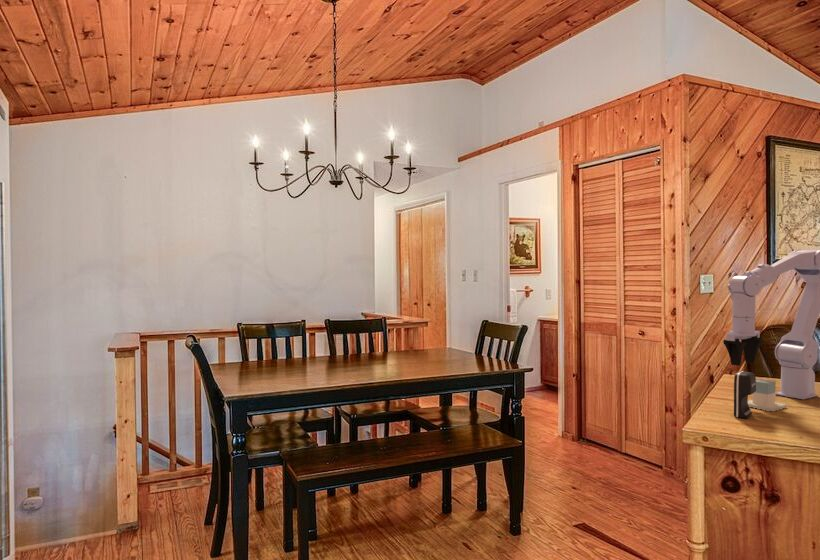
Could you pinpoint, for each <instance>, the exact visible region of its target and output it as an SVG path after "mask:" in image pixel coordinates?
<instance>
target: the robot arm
mask: <svg viewBox="0 0 820 560" xmlns="http://www.w3.org/2000/svg"><path fill="white" fill-rule="evenodd" d="M791 270H794V271H795V272H796V274H797V275H798V276H799V277H800V278H801V279H803V280H804V282H805V287H804V290H803V293H802V296H801V299H800V302H799V306H798V308H797V311H796V315H795V317H794V321H793V323H792V326H791V330H790V331H789V332H788V333H786V334H784V335H783V336H781V338H780V341H779V343H778V344H777V345H776V346H775V348H774V356H775V359H776V360H777V361H778V364H779V365H780V391H775V396H781V397H787V398H793V399H799V400H807V399H811V398H814V397H815V398H816V397H818V396H819V394H818V393H816V392H815V391H816V374H815V371H814V369H813V366H815V365H816V363H817V361H818V357H819V355H818V353H819V352H818V351H819V347H820V345H819V343H818V342H817V341H816V340H815V339H814V338H813V336H814V333H815V329H816V326H817V323H818V320H819V318H820V249H795V250H794V251H791V252H789V253H788V254H787V255H786V256H783V258H781V259H779V260H777V261H776V262H774V263H773V264H771V265H770V264H767V263H759V264H758V265H757V266H756V268H754V269H752V270H747V271H745V272H744V274H742V275H735V276H733V277H732V278H731V279H730V281H729V283H728V284H727V289H728V292H729V294H730V299H731V301H732V308H731V309H732V312H731V313H732V314H731V316H732V317H731V318H732V321H731V322H732V323H731V326H732V328H731V330H728V331H727V333H726V334H725V335H726V337H725V338H726V339H723V340H722V341H723V344H724V347H725V348H726V351H727V352H728V355H729V360H730V365H731V366H739V367H740V366H741V364H742V358H743V356H744V361H745V363H747V364H748V363H749V364H754V363H755V361H756V358H757V355H758V352H759V349H760V347H761V345H762V344H763V342H764V339H763V338H760V337H761V336H760V335H761V331H760V330H756V296H757V295H759V294H760V293H761V289H763V288H765V287H767V286H769V285H771V284H773V283H774V282H777V279H778V276H780V275H782V274H784V273H787V272H789V271H791ZM743 354H744V355H743Z"/></svg>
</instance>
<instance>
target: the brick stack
mask: <svg viewBox="0 0 820 560" xmlns="http://www.w3.org/2000/svg"><path fill="white" fill-rule="evenodd" d="M775 393H776V381H772V380H766V379H756V391H755V392H754V393H753V394H752V399H751V400H752V403H757V404H762V405H767V406H768V405H772V404H775V402H776V395H775Z"/></svg>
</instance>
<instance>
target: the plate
mask: <svg viewBox="0 0 820 560" xmlns="http://www.w3.org/2000/svg"><path fill="white" fill-rule="evenodd" d="M748 406H749V408H750V407H754V408H753V409H755V408H757V409H756V410H760V409H762V410H761V411H765V410H766V411H765V412H770V411H773V412H775V411H776V410H777V411H780V410H784V409H787V404H785V403H781V402H780V403H779V402H776V401H775V404H772V405H768V406H767V405H762V404H757V403H752V399H748ZM783 408H784V409H783ZM779 409H780V410H779Z"/></svg>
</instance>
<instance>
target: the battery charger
mask: <svg viewBox="0 0 820 560" xmlns="http://www.w3.org/2000/svg"><path fill="white" fill-rule="evenodd" d="M733 379H734V381H733V417H734V418H738V417H739V418H740V419H749V418H750V417H752V415H753V411H752V410H751V408H750V407H749V406H748V401H749V399H748V398H749V397H748V396H751V395H753V393H754V392H755V391H756V380H757V378H756V375H755V373H753V372H750V371H744V370H740V371H738V372H736V373H735V374H734V378H733Z"/></svg>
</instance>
